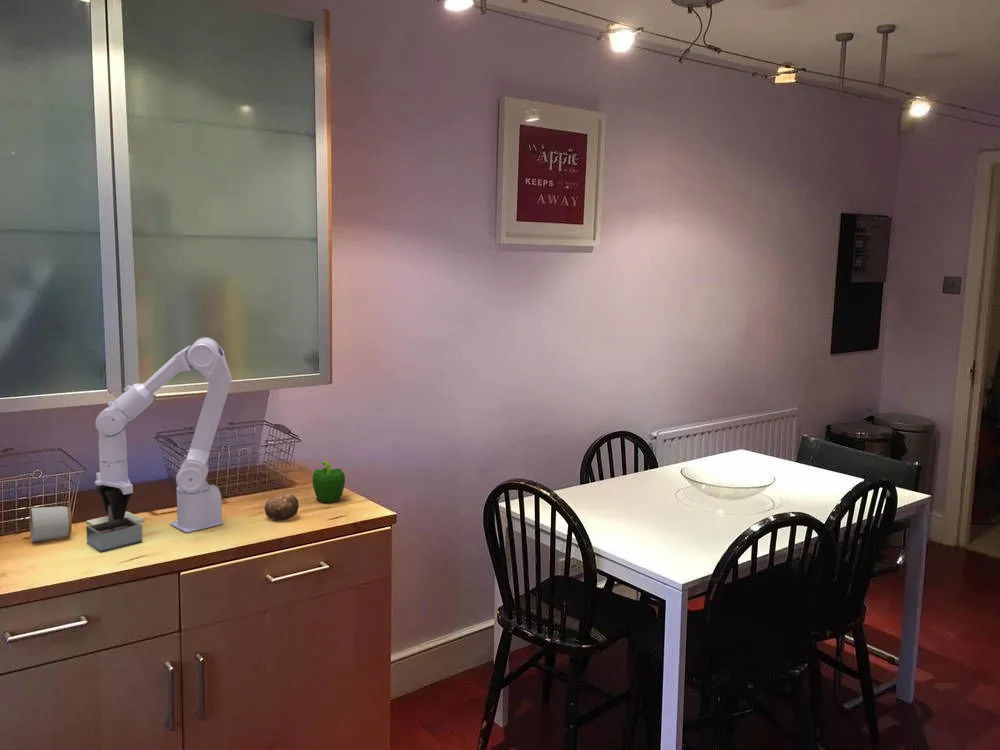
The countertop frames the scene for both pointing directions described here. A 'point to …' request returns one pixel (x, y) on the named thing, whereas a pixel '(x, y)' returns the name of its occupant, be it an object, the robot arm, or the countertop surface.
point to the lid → (110, 518)
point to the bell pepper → (328, 483)
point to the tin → (114, 534)
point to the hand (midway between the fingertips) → (115, 517)
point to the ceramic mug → (50, 523)
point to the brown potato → (282, 507)
